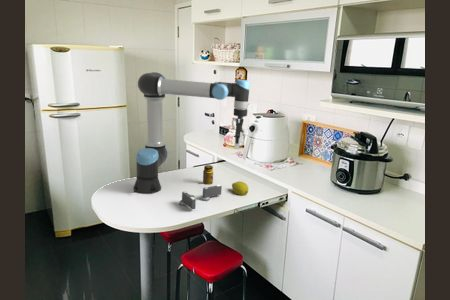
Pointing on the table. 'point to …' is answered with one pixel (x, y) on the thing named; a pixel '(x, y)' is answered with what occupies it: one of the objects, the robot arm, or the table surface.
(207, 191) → the grey lever handle
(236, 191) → the lemon
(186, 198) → the grey lever handle
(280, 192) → the table surface
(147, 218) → the table surface
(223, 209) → the table surface
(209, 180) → the condiment
